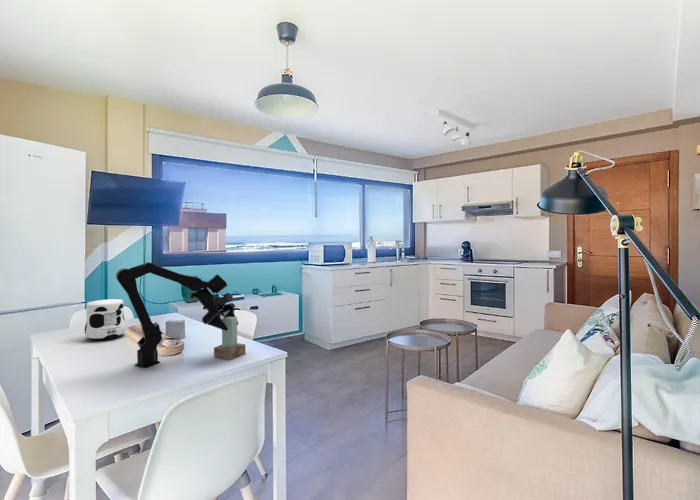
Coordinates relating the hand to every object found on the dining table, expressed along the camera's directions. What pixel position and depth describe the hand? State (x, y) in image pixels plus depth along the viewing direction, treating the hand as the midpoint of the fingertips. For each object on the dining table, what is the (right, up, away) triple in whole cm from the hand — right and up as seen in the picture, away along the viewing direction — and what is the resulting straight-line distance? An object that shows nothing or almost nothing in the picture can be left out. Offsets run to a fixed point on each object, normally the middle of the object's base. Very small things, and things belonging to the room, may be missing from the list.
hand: (232, 327), depth 157 cm
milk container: (-72, -11, +28) cm, 78 cm away
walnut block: (-1, -12, +1) cm, 12 cm away
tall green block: (-1, -8, 0) cm, 8 cm away
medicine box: (-37, -11, +28) cm, 48 cm away
